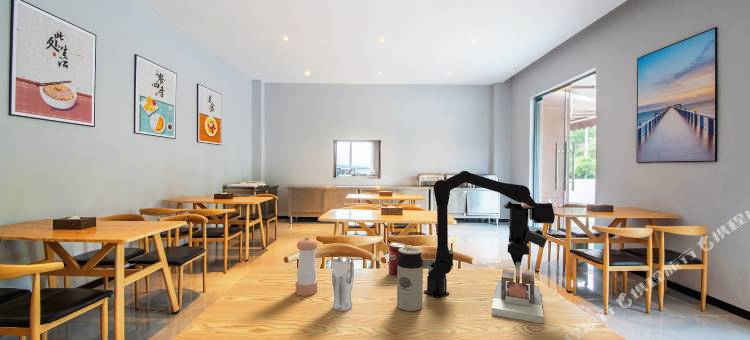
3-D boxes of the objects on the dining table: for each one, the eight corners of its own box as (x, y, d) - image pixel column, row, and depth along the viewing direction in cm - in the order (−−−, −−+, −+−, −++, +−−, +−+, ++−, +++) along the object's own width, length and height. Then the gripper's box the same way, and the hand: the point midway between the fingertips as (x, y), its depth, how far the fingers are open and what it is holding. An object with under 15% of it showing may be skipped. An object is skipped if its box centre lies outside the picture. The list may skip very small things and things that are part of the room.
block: (525, 305, 105) (526, 288, 105) (508, 302, 107) (508, 286, 107) (525, 299, 109) (526, 283, 109) (509, 296, 111) (509, 281, 111)
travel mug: (407, 299, 113) (408, 245, 113) (427, 306, 107) (428, 249, 107) (391, 306, 107) (392, 249, 107) (411, 314, 102) (412, 254, 102)
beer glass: (357, 304, 108) (357, 257, 108) (348, 313, 102) (348, 263, 101) (337, 301, 110) (337, 255, 110) (327, 310, 104) (327, 261, 104)
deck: (543, 323, 97) (543, 316, 97) (491, 314, 102) (491, 307, 102) (538, 291, 122) (538, 286, 122) (497, 285, 127) (497, 280, 127)
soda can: (406, 271, 143) (406, 243, 142) (406, 277, 135) (406, 247, 135) (389, 270, 143) (389, 242, 143) (388, 276, 136) (388, 246, 136)
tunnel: (533, 304, 105) (534, 281, 105) (501, 298, 109) (501, 277, 109) (532, 293, 115) (533, 272, 115) (502, 288, 118) (502, 268, 118)
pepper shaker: (291, 293, 116) (292, 238, 116) (303, 287, 123) (304, 234, 123) (309, 297, 114) (310, 240, 113) (321, 290, 120) (321, 236, 120)
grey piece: (528, 306, 103) (529, 269, 103) (505, 302, 106) (506, 266, 106) (528, 297, 110) (529, 262, 110) (506, 293, 113) (507, 260, 113)
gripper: (548, 229, 101) (546, 281, 102) (543, 220, 119) (542, 264, 119) (508, 226, 106) (507, 276, 106) (509, 217, 123) (508, 260, 123)
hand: (517, 269), depth 113 cm, fingers closed
